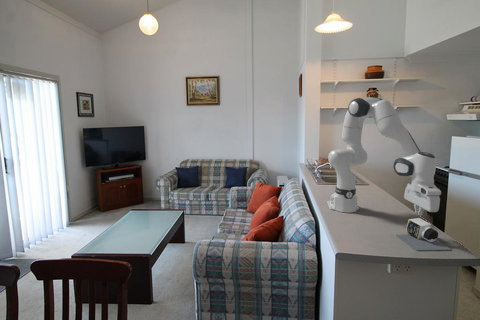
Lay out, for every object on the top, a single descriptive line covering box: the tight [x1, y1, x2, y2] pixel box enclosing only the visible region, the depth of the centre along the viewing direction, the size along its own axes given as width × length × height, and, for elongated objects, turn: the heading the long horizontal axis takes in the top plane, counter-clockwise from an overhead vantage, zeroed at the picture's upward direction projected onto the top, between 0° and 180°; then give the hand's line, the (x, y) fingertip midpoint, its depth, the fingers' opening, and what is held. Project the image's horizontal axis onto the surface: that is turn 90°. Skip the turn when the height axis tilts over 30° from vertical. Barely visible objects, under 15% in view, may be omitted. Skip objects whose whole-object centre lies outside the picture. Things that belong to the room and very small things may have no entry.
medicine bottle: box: [405, 217, 439, 242], centre depth 137 cm, size 7×7×12 cm
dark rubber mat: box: [395, 234, 452, 252], centre depth 134 cm, size 16×16×1 cm
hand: (418, 214), depth 136 cm, fingers closed
